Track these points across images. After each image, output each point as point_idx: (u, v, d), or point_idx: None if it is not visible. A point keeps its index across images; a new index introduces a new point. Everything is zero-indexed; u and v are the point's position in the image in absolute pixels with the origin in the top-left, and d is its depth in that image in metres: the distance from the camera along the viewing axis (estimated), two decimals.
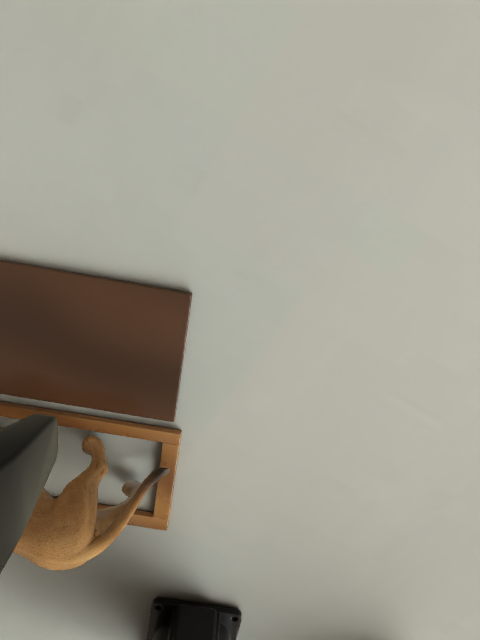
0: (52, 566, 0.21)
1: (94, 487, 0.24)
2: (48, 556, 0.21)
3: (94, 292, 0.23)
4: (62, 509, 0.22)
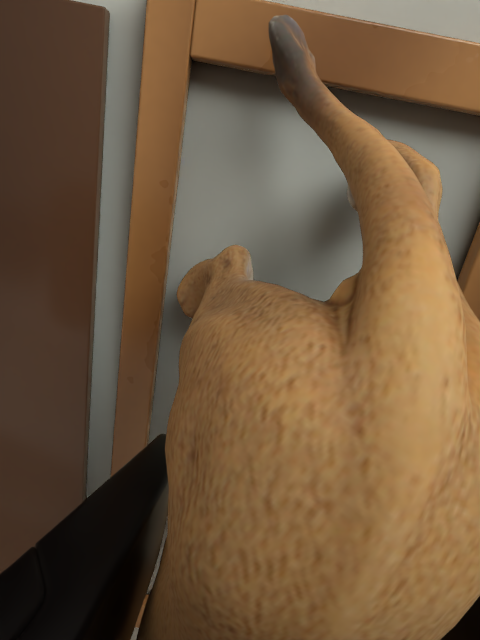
0: (414, 607, 0.03)
1: (227, 288, 0.06)
2: (308, 611, 0.03)
3: None
4: (167, 431, 0.04)
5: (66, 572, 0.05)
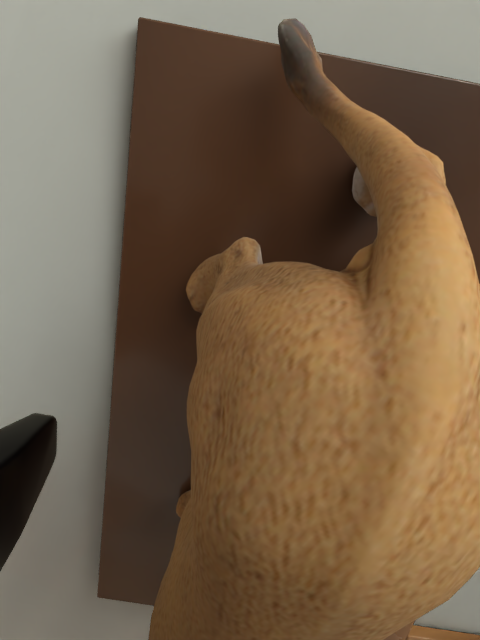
0: (437, 546, 0.03)
1: (240, 273, 0.06)
2: (336, 550, 0.03)
3: (155, 294, 0.09)
4: (188, 400, 0.05)
5: None
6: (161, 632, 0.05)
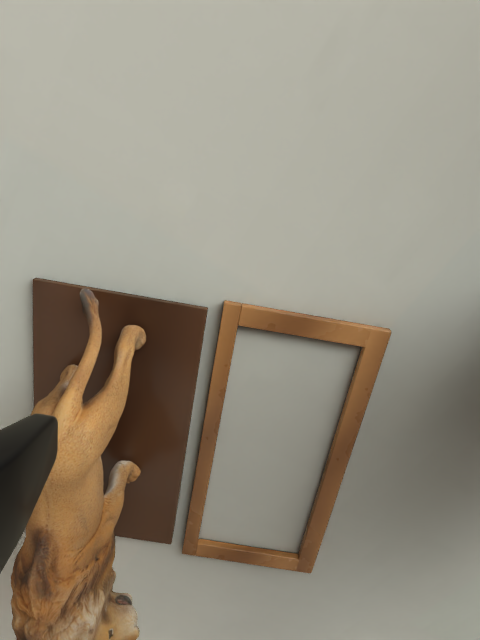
0: (60, 463, 0.15)
1: (58, 386, 0.18)
2: None
3: (49, 378, 0.22)
4: None
5: None
6: None
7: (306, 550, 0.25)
